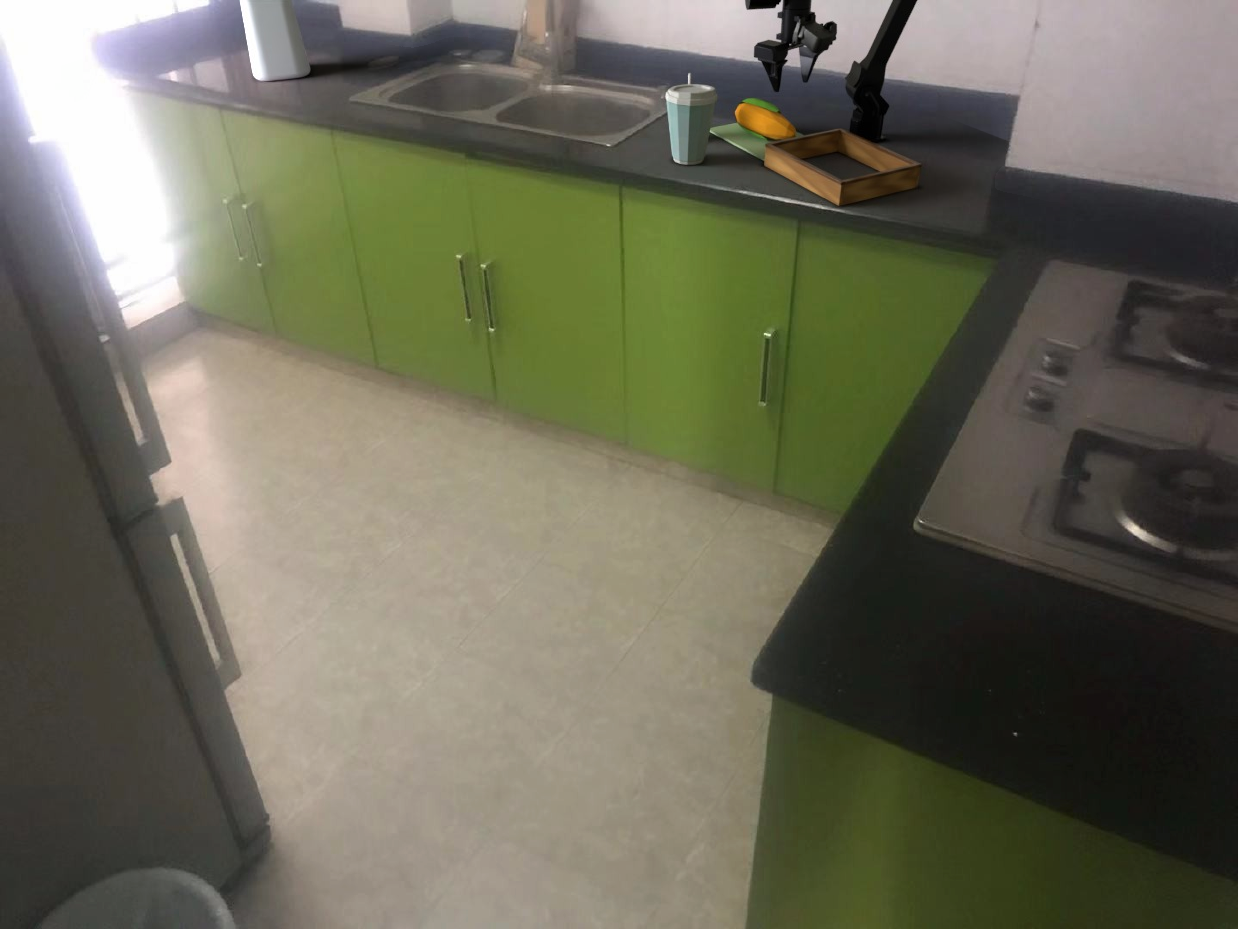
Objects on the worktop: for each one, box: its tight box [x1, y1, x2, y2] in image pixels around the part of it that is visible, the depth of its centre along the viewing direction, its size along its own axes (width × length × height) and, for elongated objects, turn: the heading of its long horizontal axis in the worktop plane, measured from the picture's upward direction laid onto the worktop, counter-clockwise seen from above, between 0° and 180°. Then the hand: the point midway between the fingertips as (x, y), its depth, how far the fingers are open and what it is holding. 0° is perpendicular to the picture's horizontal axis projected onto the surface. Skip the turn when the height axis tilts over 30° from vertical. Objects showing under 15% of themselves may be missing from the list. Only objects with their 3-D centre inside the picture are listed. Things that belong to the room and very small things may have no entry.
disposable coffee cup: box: [664, 83, 719, 166], centre depth 196 cm, size 11×11×15 cm
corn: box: [734, 97, 797, 140], centre depth 207 cm, size 7×8×20 cm
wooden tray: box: [763, 127, 922, 207], centre depth 190 cm, size 19×25×5 cm
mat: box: [710, 122, 806, 162], centre depth 209 cm, size 16×24×1 cm, turn 27°
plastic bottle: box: [239, 0, 311, 82], centre depth 253 cm, size 15×15×28 cm
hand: (790, 86), depth 201 cm, fingers open, 9 cm apart
